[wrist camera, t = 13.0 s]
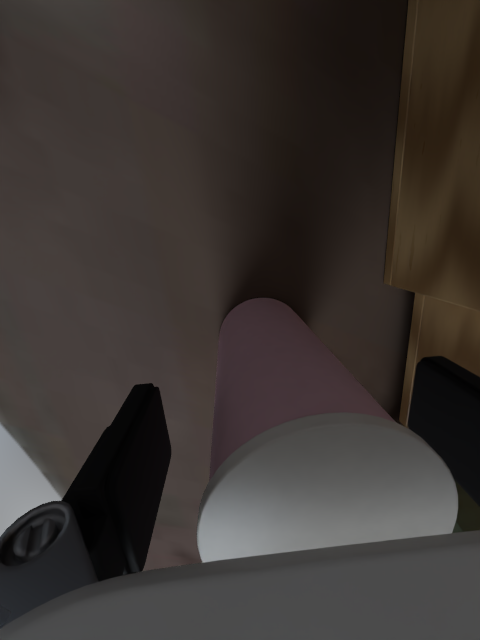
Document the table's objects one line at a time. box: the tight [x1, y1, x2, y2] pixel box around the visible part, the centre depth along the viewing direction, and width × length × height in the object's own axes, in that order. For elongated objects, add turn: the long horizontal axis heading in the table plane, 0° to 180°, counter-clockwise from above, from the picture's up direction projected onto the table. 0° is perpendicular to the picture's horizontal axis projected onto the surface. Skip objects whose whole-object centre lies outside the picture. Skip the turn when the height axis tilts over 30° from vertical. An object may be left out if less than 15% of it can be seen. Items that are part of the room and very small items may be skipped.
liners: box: [197, 298, 458, 563], centre depth 12 cm, size 6×6×12 cm
